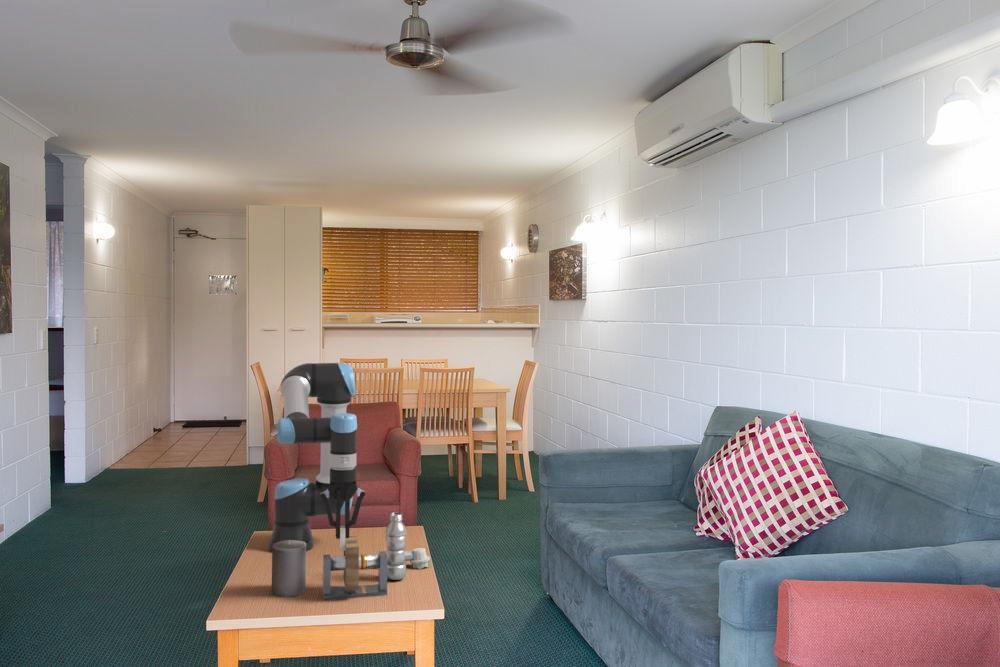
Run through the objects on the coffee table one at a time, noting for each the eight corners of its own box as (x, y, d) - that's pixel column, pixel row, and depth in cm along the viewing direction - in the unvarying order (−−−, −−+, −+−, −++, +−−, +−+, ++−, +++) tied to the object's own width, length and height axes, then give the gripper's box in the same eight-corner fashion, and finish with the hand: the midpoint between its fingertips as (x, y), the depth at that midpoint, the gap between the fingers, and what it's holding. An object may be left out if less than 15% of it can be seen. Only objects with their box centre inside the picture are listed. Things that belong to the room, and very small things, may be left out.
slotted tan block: (343, 577, 231) (343, 536, 231) (355, 576, 232) (355, 536, 231) (345, 590, 219) (346, 547, 219) (358, 589, 220) (358, 547, 220)
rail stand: (322, 591, 227) (322, 553, 227) (384, 587, 231) (385, 549, 231) (323, 599, 220) (323, 560, 220) (387, 594, 225) (387, 556, 224)
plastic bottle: (395, 574, 243) (396, 510, 243) (410, 579, 239) (411, 513, 239) (380, 579, 238) (380, 514, 238) (395, 584, 234) (395, 517, 234)
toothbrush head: (351, 553, 252) (428, 542, 254) (353, 574, 252) (430, 562, 254) (349, 558, 247) (427, 547, 249) (351, 579, 247) (430, 567, 249)
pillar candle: (264, 591, 226) (265, 540, 226) (293, 583, 234) (294, 533, 233) (283, 600, 220) (284, 547, 220) (312, 591, 227) (313, 540, 227)
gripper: (320, 470, 219) (319, 554, 219) (367, 469, 222) (366, 551, 223) (319, 466, 226) (318, 547, 227) (365, 464, 230) (364, 544, 230)
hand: (342, 549), depth 225 cm, fingers closed
